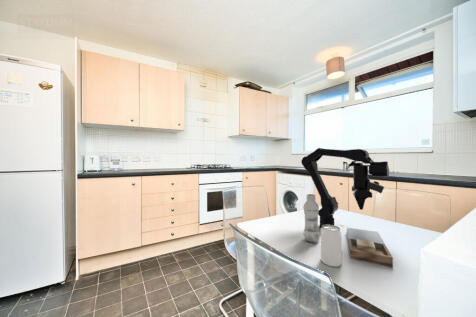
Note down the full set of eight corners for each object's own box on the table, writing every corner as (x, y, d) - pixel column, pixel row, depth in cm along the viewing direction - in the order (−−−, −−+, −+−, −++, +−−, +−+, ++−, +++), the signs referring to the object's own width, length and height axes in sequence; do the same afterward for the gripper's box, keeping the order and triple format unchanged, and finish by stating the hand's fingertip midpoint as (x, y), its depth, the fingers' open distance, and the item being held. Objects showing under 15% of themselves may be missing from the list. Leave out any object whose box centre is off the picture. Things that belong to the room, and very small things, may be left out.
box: (350, 258, 67) (350, 249, 67) (348, 245, 76) (348, 238, 76) (392, 266, 61) (392, 257, 61) (385, 252, 71) (385, 244, 71)
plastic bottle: (318, 238, 83) (318, 194, 84) (320, 245, 77) (319, 196, 77) (303, 236, 86) (303, 193, 86) (303, 243, 79) (303, 195, 79)
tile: (357, 251, 70) (357, 244, 70) (356, 245, 75) (356, 239, 75) (375, 254, 68) (375, 247, 68) (373, 248, 72) (373, 241, 72)
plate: (348, 245, 77) (348, 238, 77) (346, 233, 89) (346, 227, 89) (385, 252, 71) (384, 244, 71) (377, 238, 83) (377, 231, 83)
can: (317, 257, 67) (317, 224, 67) (334, 256, 68) (334, 223, 68) (327, 268, 61) (327, 231, 61) (346, 267, 61) (345, 230, 61)
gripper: (387, 178, 75) (387, 217, 75) (377, 175, 92) (378, 206, 92) (354, 177, 80) (355, 213, 80) (351, 174, 97) (352, 204, 97)
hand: (361, 209), depth 87 cm, fingers closed
